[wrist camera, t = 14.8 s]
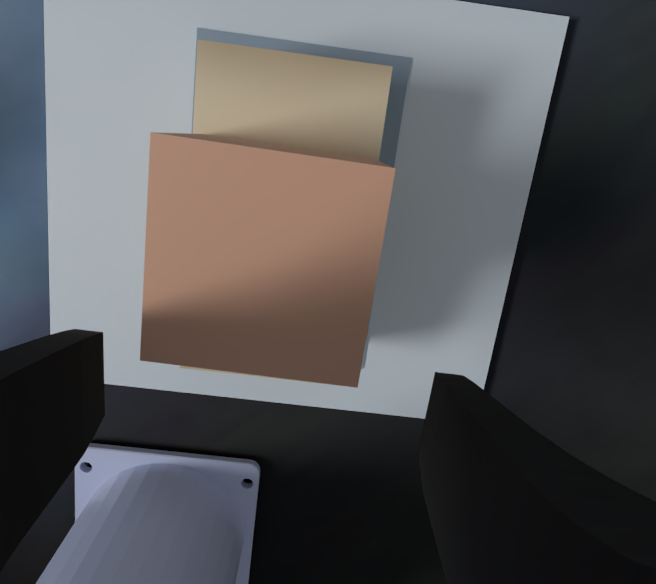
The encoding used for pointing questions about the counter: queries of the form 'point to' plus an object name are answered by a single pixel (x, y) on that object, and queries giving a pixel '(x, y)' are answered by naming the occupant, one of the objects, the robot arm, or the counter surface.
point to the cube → (261, 257)
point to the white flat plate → (396, 150)
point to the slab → (290, 102)
